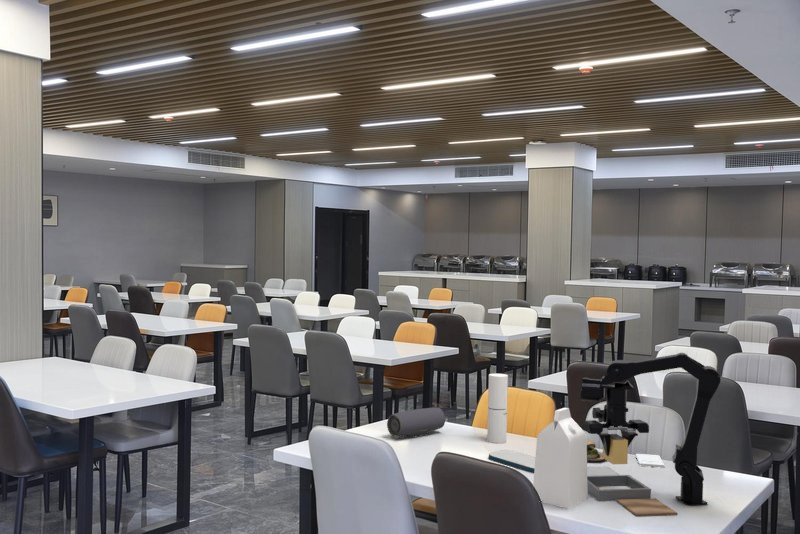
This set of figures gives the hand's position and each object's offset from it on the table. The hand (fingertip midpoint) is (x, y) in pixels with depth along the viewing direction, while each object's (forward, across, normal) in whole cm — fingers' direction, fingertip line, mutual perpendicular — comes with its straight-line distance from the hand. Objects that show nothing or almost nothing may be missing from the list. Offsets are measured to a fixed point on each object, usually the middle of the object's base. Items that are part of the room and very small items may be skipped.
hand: (615, 455), depth 220 cm
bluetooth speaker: (+11, +47, -73) cm, 88 cm away
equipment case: (+11, 0, -7) cm, 13 cm away
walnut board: (+11, -3, +14) cm, 18 cm away
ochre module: (+2, 0, 0) cm, 2 cm away
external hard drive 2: (+12, -27, -30) cm, 42 cm away
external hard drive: (+12, +18, -32) cm, 39 cm away
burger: (+12, -8, -36) cm, 39 cm away
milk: (+11, +18, +4) cm, 22 cm away
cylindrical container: (+11, +18, -62) cm, 66 cm away
